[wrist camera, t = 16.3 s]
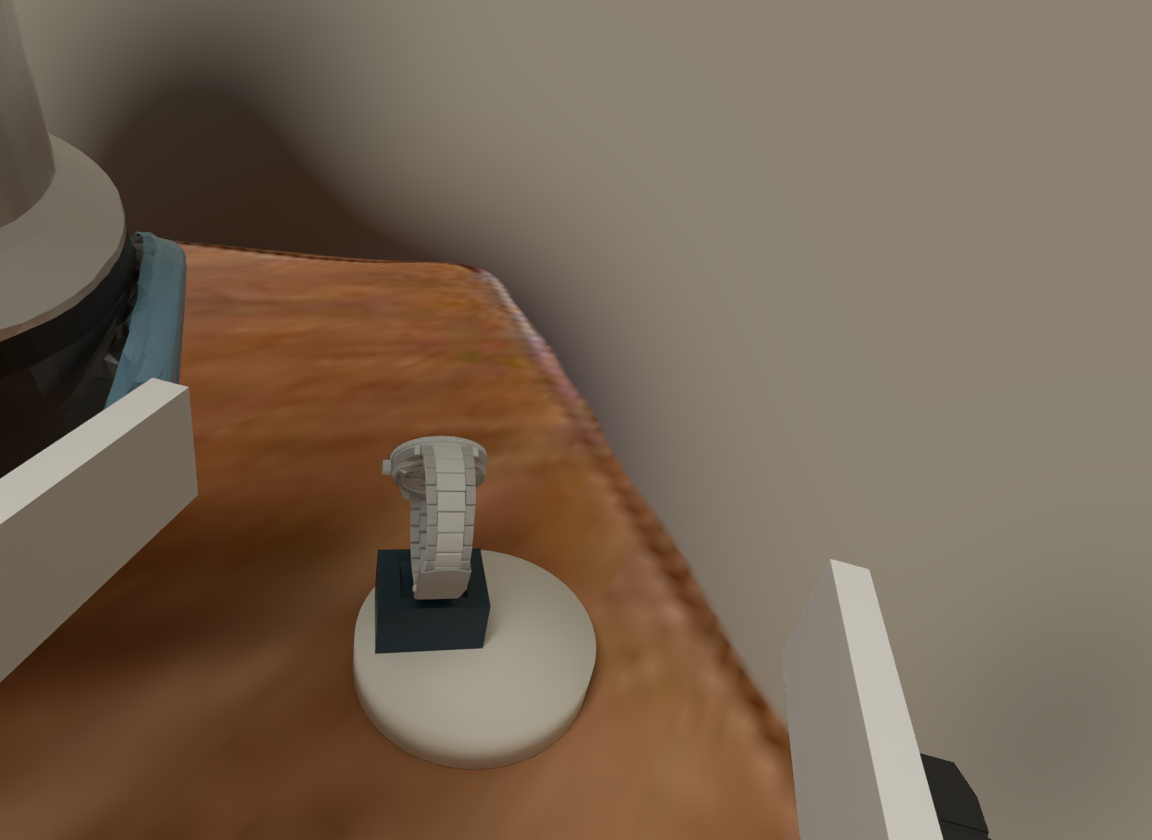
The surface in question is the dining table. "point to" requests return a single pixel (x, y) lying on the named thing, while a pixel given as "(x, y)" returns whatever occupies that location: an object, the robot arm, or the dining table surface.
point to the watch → (434, 552)
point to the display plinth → (484, 675)
